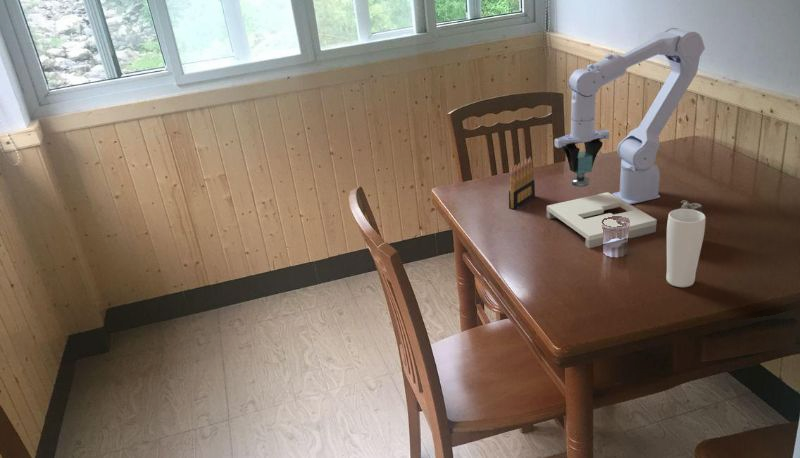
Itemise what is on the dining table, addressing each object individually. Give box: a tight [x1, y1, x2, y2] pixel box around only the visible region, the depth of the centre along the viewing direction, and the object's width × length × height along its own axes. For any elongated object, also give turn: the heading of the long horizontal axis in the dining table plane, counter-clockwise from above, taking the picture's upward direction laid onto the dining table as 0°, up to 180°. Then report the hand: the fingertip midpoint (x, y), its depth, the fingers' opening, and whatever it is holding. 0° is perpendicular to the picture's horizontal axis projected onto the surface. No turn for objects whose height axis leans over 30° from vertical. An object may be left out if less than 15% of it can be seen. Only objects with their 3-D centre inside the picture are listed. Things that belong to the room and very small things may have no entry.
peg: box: [571, 150, 593, 188], centre depth 160 cm, size 4×4×8 cm
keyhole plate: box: [546, 191, 658, 249], centre depth 153 cm, size 18×20×3 cm
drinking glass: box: [665, 208, 707, 288], centre depth 123 cm, size 7×7×15 cm
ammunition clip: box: [508, 156, 536, 210], centre depth 168 cm, size 11×2×12 cm, turn 138°
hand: (581, 169), depth 160 cm, fingers closed on peg, 4 cm apart
